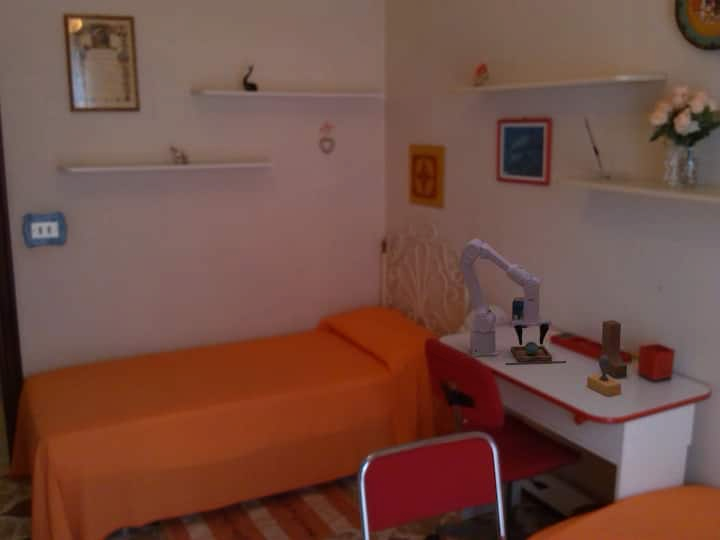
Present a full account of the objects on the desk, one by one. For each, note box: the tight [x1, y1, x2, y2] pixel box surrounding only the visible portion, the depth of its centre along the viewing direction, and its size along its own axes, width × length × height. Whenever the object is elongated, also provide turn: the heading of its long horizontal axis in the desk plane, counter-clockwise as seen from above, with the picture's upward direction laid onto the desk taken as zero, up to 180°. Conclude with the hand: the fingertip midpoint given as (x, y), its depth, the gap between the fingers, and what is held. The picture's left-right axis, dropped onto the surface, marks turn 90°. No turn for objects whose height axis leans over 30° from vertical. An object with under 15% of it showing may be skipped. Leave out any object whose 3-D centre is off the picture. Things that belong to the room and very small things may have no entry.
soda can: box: [511, 296, 528, 329], centre depth 301 cm, size 7×7×12 cm
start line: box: [505, 360, 567, 366], centre depth 258 cm, size 22×1×1 cm, turn 89°
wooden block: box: [601, 319, 628, 379], centre depth 243 cm, size 9×4×18 cm, turn 13°
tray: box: [510, 345, 553, 363], centre depth 265 cm, size 13×13×2 cm
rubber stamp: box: [586, 354, 622, 397], centre depth 230 cm, size 10×6×12 cm, turn 22°
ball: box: [524, 341, 539, 355], centre depth 265 cm, size 5×5×5 cm
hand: (530, 344), depth 265 cm, fingers open, 7 cm apart
